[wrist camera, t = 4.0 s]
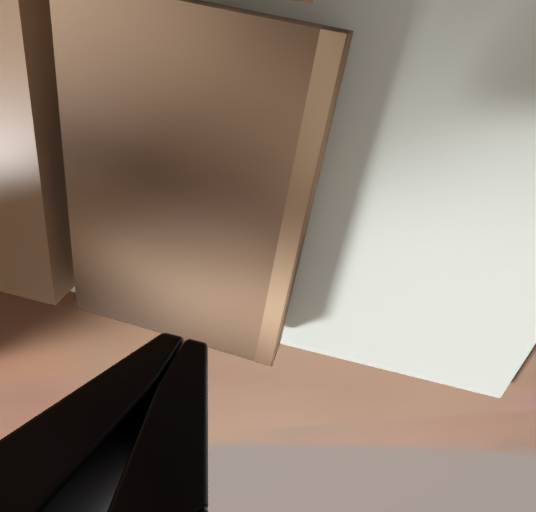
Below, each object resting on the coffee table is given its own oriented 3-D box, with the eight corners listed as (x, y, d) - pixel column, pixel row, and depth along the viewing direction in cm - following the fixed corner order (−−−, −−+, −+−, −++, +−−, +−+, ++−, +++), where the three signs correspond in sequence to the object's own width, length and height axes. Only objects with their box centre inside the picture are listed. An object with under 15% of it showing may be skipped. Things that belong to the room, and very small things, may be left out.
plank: (281, 338, 17) (272, 366, 15) (99, 286, 18) (76, 308, 16) (353, 30, 11) (348, 34, 10) (83, -23, 12) (46, -26, 11)
